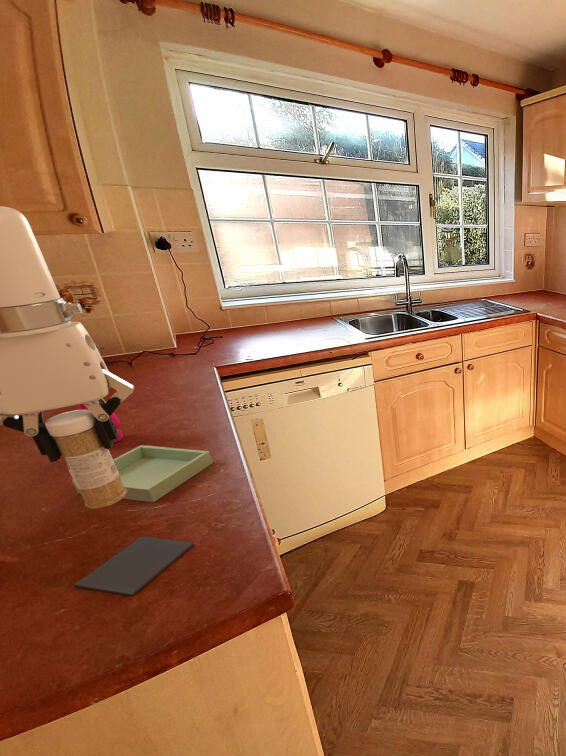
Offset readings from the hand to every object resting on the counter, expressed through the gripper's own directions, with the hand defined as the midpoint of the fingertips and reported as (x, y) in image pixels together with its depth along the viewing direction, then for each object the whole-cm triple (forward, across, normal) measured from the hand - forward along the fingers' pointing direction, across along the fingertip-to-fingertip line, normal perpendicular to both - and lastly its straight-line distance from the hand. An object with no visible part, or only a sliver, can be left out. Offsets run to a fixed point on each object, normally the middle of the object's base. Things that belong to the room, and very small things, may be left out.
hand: (84, 449), depth 57 cm
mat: (+20, 0, 0) cm, 20 cm away
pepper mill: (+21, +11, -54) cm, 59 cm away
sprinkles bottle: (+9, 0, 0) cm, 9 cm away
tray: (+20, +1, -29) cm, 36 cm away
